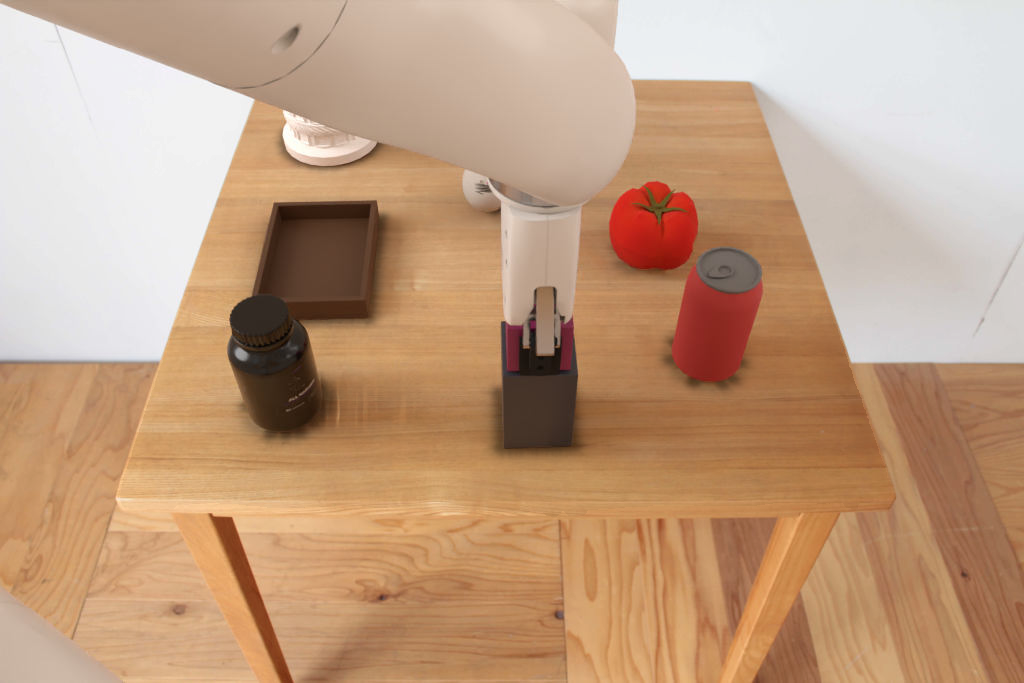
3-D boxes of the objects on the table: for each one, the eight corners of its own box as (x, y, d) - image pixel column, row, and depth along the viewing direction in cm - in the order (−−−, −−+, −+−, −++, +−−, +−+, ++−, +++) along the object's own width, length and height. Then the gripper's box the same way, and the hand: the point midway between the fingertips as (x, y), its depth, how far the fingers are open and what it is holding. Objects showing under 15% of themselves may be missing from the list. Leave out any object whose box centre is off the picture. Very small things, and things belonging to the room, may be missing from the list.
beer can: (657, 345, 83) (675, 253, 74) (716, 325, 84) (740, 233, 75) (693, 394, 79) (717, 304, 70) (753, 372, 80) (784, 282, 71)
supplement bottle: (318, 436, 76) (291, 347, 66) (241, 434, 76) (204, 346, 67) (330, 375, 80) (307, 285, 71) (258, 374, 80) (226, 283, 71)
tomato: (592, 243, 92) (597, 188, 87) (659, 217, 95) (668, 162, 89) (642, 297, 87) (651, 242, 81) (711, 267, 90) (725, 212, 84)
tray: (368, 318, 85) (365, 300, 83) (255, 320, 85) (249, 302, 83) (379, 218, 95) (376, 200, 93) (278, 220, 95) (273, 202, 93)
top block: (570, 370, 67) (574, 327, 64) (507, 371, 67) (507, 328, 63) (565, 323, 71) (569, 280, 67) (505, 325, 70) (505, 281, 67)
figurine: (508, 233, 93) (508, 184, 88) (455, 225, 94) (452, 176, 89) (524, 188, 98) (525, 139, 93) (474, 181, 99) (472, 132, 94)
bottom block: (571, 446, 75) (578, 374, 67) (503, 448, 75) (502, 376, 67) (566, 392, 79) (572, 319, 71) (501, 394, 79) (500, 320, 71)
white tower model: (295, 109, 109) (264, -30, 95) (385, 111, 109) (367, -28, 95) (275, 165, 101) (238, 22, 88) (372, 167, 101) (350, 24, 87)
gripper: (485, 87, 61) (489, 272, 74) (488, 249, 49) (492, 432, 63) (590, 86, 61) (575, 271, 74) (617, 246, 50) (593, 430, 63)
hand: (537, 343), depth 69 cm, fingers closed on top block, 5 cm apart
